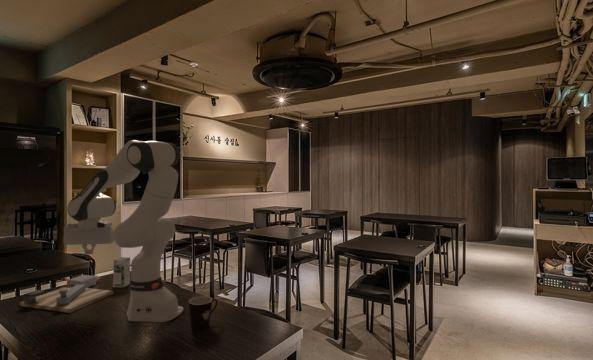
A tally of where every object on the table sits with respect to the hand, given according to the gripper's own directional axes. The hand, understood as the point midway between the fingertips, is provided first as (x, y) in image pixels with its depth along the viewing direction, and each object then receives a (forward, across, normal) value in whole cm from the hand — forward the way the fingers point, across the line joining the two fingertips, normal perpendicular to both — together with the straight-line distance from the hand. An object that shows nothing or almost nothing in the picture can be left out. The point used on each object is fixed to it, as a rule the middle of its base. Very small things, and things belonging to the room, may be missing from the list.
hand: (89, 253), depth 152 cm
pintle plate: (+21, -9, +1) cm, 23 cm away
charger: (+22, -10, +23) cm, 33 cm away
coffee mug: (+21, +54, -36) cm, 68 cm away
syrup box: (+21, +8, +18) cm, 29 cm away
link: (+19, -7, 0) cm, 20 cm away
